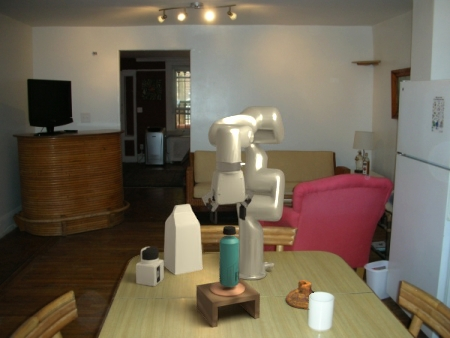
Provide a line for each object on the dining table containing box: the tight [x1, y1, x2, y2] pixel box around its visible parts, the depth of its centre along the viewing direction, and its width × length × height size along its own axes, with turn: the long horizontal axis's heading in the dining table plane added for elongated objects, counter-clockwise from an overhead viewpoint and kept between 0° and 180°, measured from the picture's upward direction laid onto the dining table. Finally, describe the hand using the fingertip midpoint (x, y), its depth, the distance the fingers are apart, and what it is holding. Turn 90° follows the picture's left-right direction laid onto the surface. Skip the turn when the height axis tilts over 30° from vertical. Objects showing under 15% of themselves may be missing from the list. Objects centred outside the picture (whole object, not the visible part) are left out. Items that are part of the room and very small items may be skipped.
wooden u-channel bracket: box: [195, 278, 261, 328], centre depth 153 cm, size 16×14×9 cm
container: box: [135, 246, 165, 287], centre depth 178 cm, size 8×8×13 cm
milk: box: [163, 203, 204, 276], centre depth 191 cm, size 12×12×26 cm
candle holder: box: [285, 280, 315, 310], centre depth 162 cm, size 12×12×7 cm
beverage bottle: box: [218, 225, 240, 287], centre depth 151 cm, size 6×7×20 cm
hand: (228, 220), depth 149 cm, fingers open, 9 cm apart
